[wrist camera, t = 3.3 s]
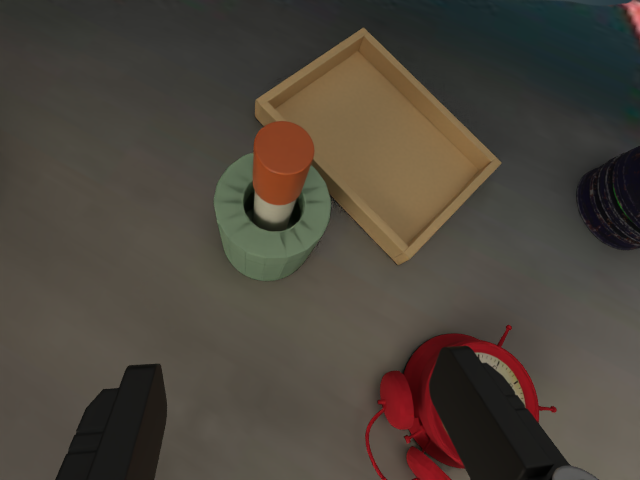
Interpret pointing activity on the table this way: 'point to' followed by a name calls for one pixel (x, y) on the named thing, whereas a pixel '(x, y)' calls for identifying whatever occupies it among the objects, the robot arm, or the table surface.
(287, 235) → the green cylindrical pot
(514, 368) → the alarm clock
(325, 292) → the table surface
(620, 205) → the dark blue cylinder
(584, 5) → the table surface
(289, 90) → the tray
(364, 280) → the table surface
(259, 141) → the marker
